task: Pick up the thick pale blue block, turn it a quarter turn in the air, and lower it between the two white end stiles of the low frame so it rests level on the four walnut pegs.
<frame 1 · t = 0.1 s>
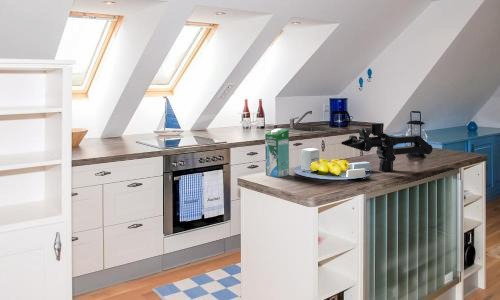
hand: (345, 144, 256), 17 cm above the countertop, tool horizontal, fingers open, 9 cm apart
pale blue block: (360, 171, 266), on the countertop
milk carton: (277, 175, 262), on the countertop
supplement box: (310, 171, 269), on the countertop
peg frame: (349, 176, 255), on the countertop
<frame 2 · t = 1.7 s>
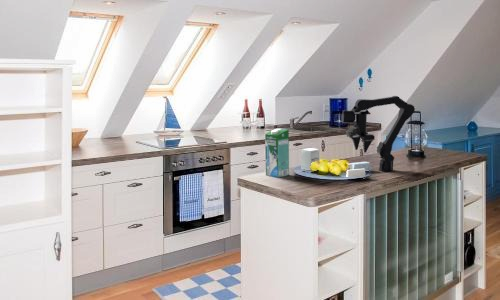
hand: (360, 151, 264), 11 cm above the countertop, tool pointing down, fingers open, 9 cm apart
nothing on the countertop moved.
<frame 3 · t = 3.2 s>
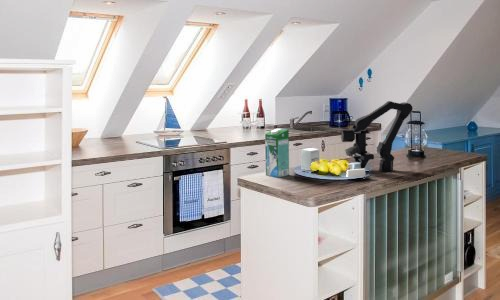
hand: (360, 169, 265), 1 cm above the countertop, tool pointing down, fingers closed on pale blue block, 4 cm apart
pale blue block: (360, 171, 266), on the countertop, touching gripper
everything else where it was.
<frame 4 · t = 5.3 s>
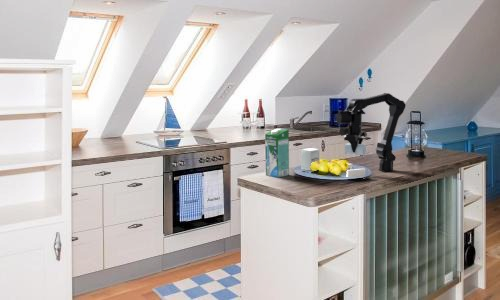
hand: (355, 151, 258), 12 cm above the countertop, tool pointing down, fingers closed on pale blue block, 4 cm apart
pale blue block: (355, 153, 258), point 11 cm above the countertop, touching gripper
everything else where it was.
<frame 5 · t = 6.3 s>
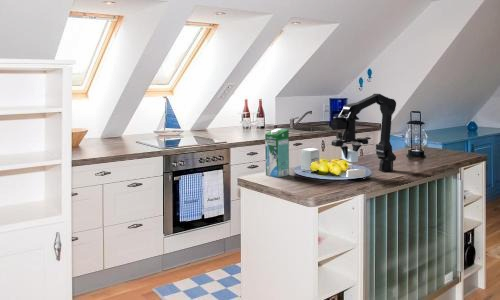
hand: (349, 158, 253), 10 cm above the countertop, tool pointing down, fingers closed on pale blue block, 4 cm apart
pale blue block: (349, 160, 254), point 9 cm above the countertop, touching gripper
everything else where it was.
when the fingers open (6 cm above the countertop, at t = 7.2 s): pale blue block drops 1 cm, resting on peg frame.
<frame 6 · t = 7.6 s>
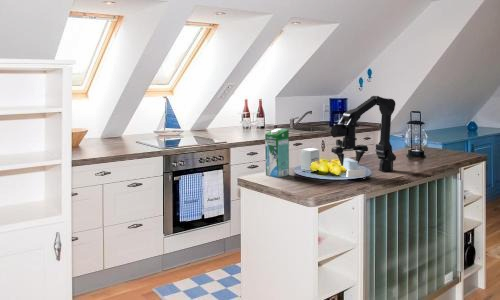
hand: (349, 165, 254), 6 cm above the countertop, tool pointing down, fingers open, 8 cm apart
pale blue block: (349, 169, 254), point 4 cm above the countertop, touching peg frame
everything else where it was.
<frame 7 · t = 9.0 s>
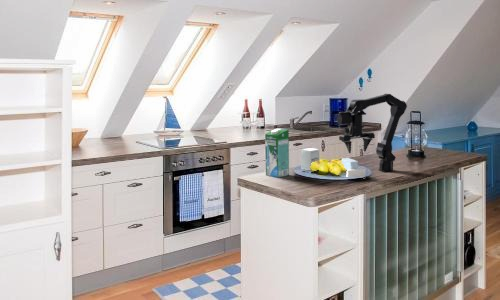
hand: (357, 152, 259), 12 cm above the countertop, tool pointing down, fingers open, 9 cm apart
nothing on the countertop moved.
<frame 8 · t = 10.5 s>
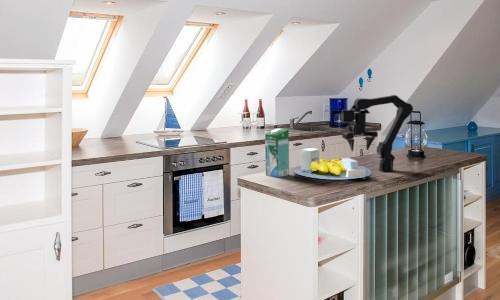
hand: (359, 150, 262), 12 cm above the countertop, tool pointing down, fingers open, 9 cm apart
nothing on the countertop moved.
at the end: pale blue block 0.1 cm off-centre on the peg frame, point 3.8 cm above the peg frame's base; pale blue block tilted 0°; the gripper is holding nothing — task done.
